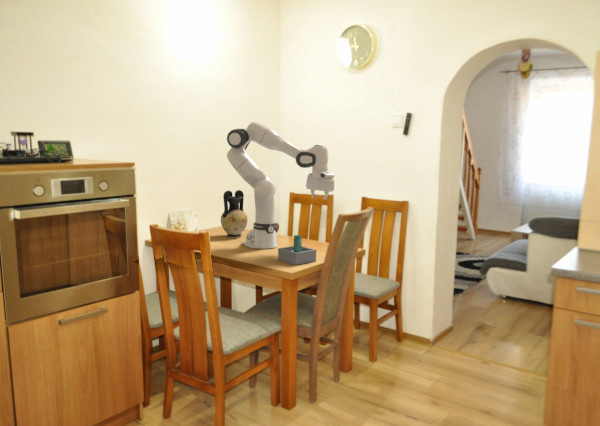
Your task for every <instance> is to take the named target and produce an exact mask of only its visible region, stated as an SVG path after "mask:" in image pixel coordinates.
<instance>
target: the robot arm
mask: <svg viewBox="0 0 600 426" xmlns="http://www.w3.org/2000/svg"><path fill="white" fill-rule="evenodd" d="M226 141H227V144H228V145H229V146H230V147H231V148H230V149H229V150H228V151H227V153H226V158H227V160H228V161H229V163H230V165H231V166H232V167H233V169H234V170H235V171H236V172H237V174H239V176H240V177H241V178H242V179H243V181H244V182H246V183H247V184H248V185H249V186H251V187H252V188H253V191H254V192H253V193H254V205H255V217H254V218H255V219H254V220H255V222H253V223H252V226H253V228H252V229H251V230H250V231H249V232H248V233H247V234H246V236H245V240H244V241H242V242H241V244H242V245H244V246H246V247H247V248H250V249H265V250H266V249H275V248H277V246H278V242H277V232H275V230H274V229H275V223H276V222H275V212H276V211H275V199H274V197H275V194H276V191H277V187H276V184H275V182H274V181H273V180H272V179H271V178H270V177H269V176H268V175H267V174H266V173H265V172H264V171H263V170H262V169H261V168H260V167H259V166H258V165H257V163H255V161H253V159H252V158H251V157H250V155H248V154H247V152H246V150H247V148H248V147H249V144H250V143H251V142H253V143H256V144H258V145H259V146H261V147H263V148H265V149H268V150H271V151H276V152H280V153H281V152H282V153H284V154H285V155H287V156H289V157H292V158H293V159H295V163H296V165H298V166H299V168H302V169H307V168H312V169H311V173H308V174H307V177H306V183H305V187H306V190H310V193H311V198H312V199H315V198H317V194H316V192H315V191H319V192H320V191H321V192H324V195H322V196H323V197H322V199H323V200H327V199H328V196H329V193H330V192H334V190H335V179H334V178H335V174H334V173H332V172H331V171H329V167H328V163H329V152H328V148H327V147H326V146H323V145H319V144H315V145H313V146H311V147H309V148H307V149H300V148H298V147H296V146H295V145H293V144H291V143H290V142H288V141H287V140H285V139H284V138H283V137H282V136H281V135H280V134H279V133H278V132H276V131H275V130H274V129H273V128H271V127H268V126H267V125H265V124H262V123H260V122H257V121H252V122H250V124H248V125H247V127H246V128H236V129H235V128H234V129H232V130H230V131H229V132H228V134H227V136H226Z"/></svg>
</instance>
